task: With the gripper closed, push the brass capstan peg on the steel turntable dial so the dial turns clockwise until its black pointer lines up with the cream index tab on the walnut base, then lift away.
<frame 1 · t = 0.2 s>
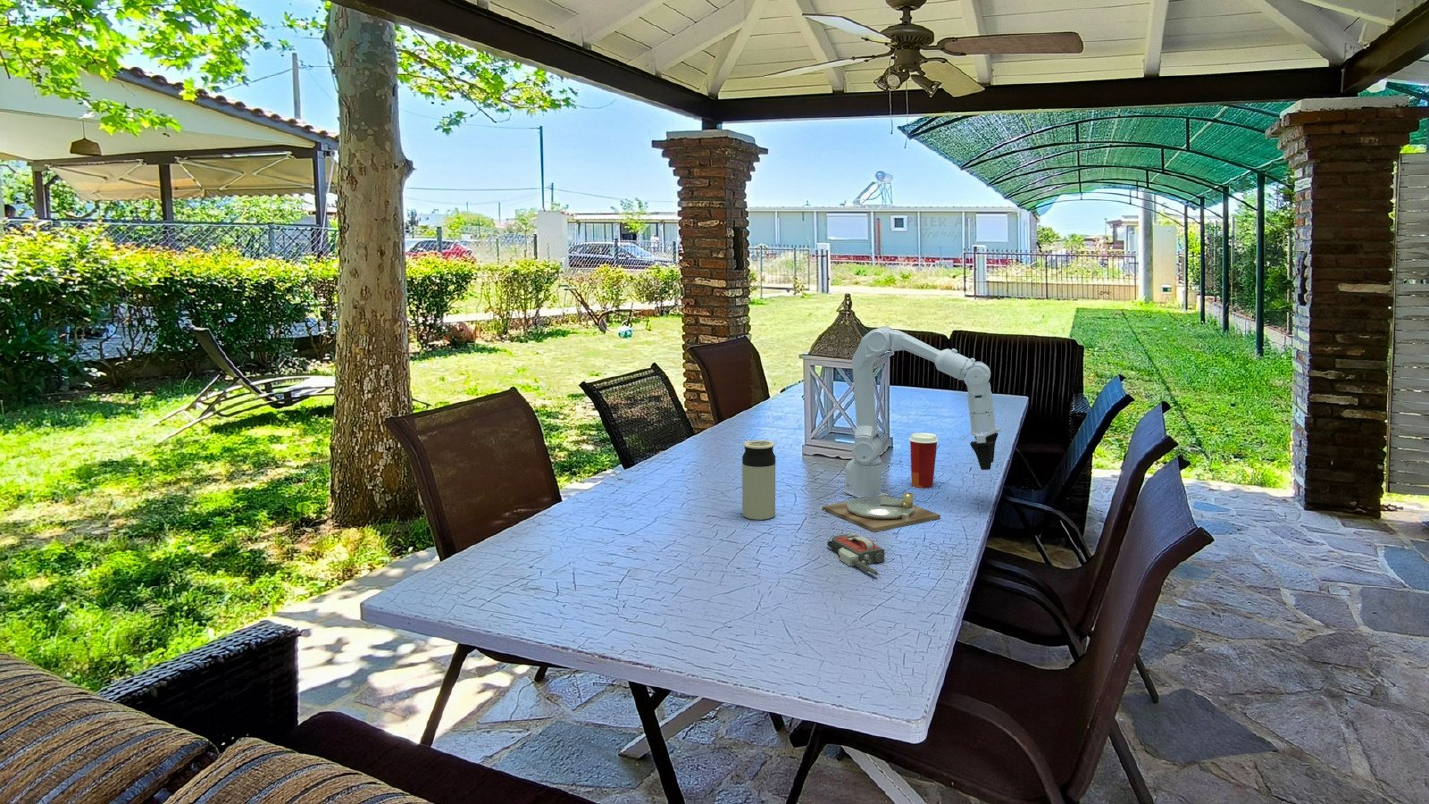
hand: (987, 466, 215), 11 cm above the table, tool pointing down, fingers open, 7 cm apart
paper cup: (921, 486, 238), on the table
travel mug: (758, 516, 211), on the table
dial base: (880, 514, 212), on the table
capstan dial: (880, 500, 211), point 3 cm above the table, hinge at 45.0°
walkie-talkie: (861, 562, 181), on the table
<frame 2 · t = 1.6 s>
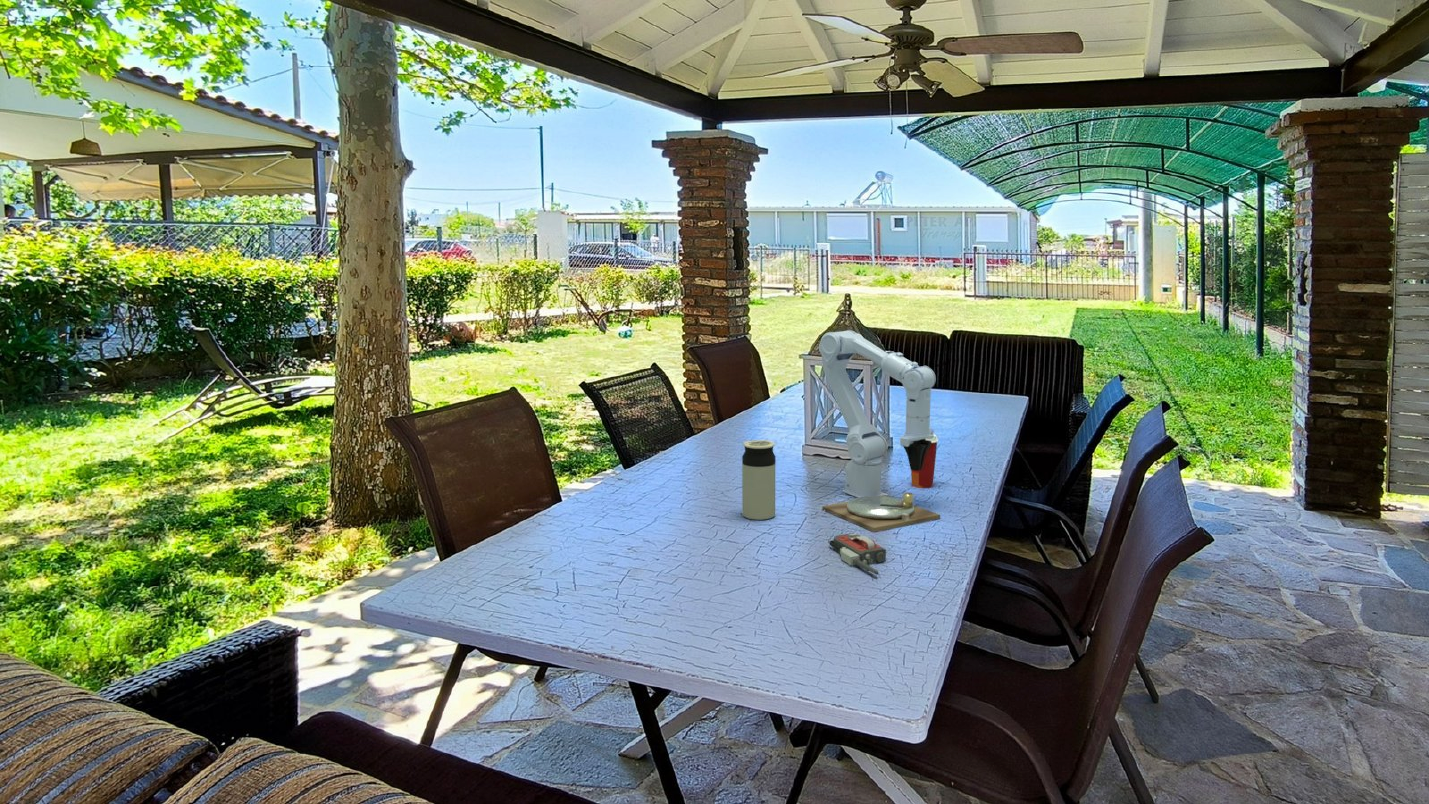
hand: (916, 469, 217), 9 cm above the table, tool pointing down, fingers closed
nothing on the table moved.
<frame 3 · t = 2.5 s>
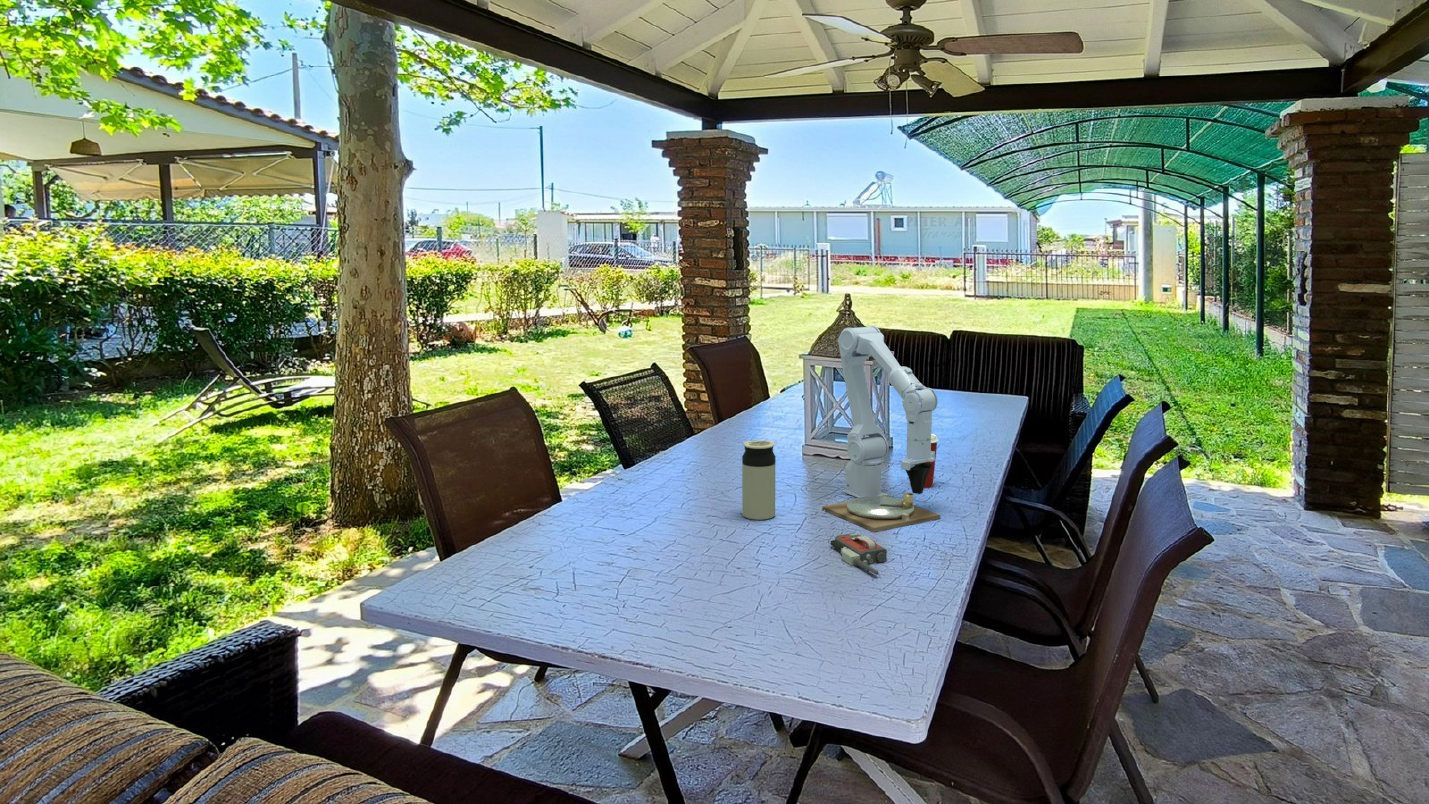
hand: (917, 493, 213), 5 cm above the table, tool pointing down, fingers closed
nothing on the table moved.
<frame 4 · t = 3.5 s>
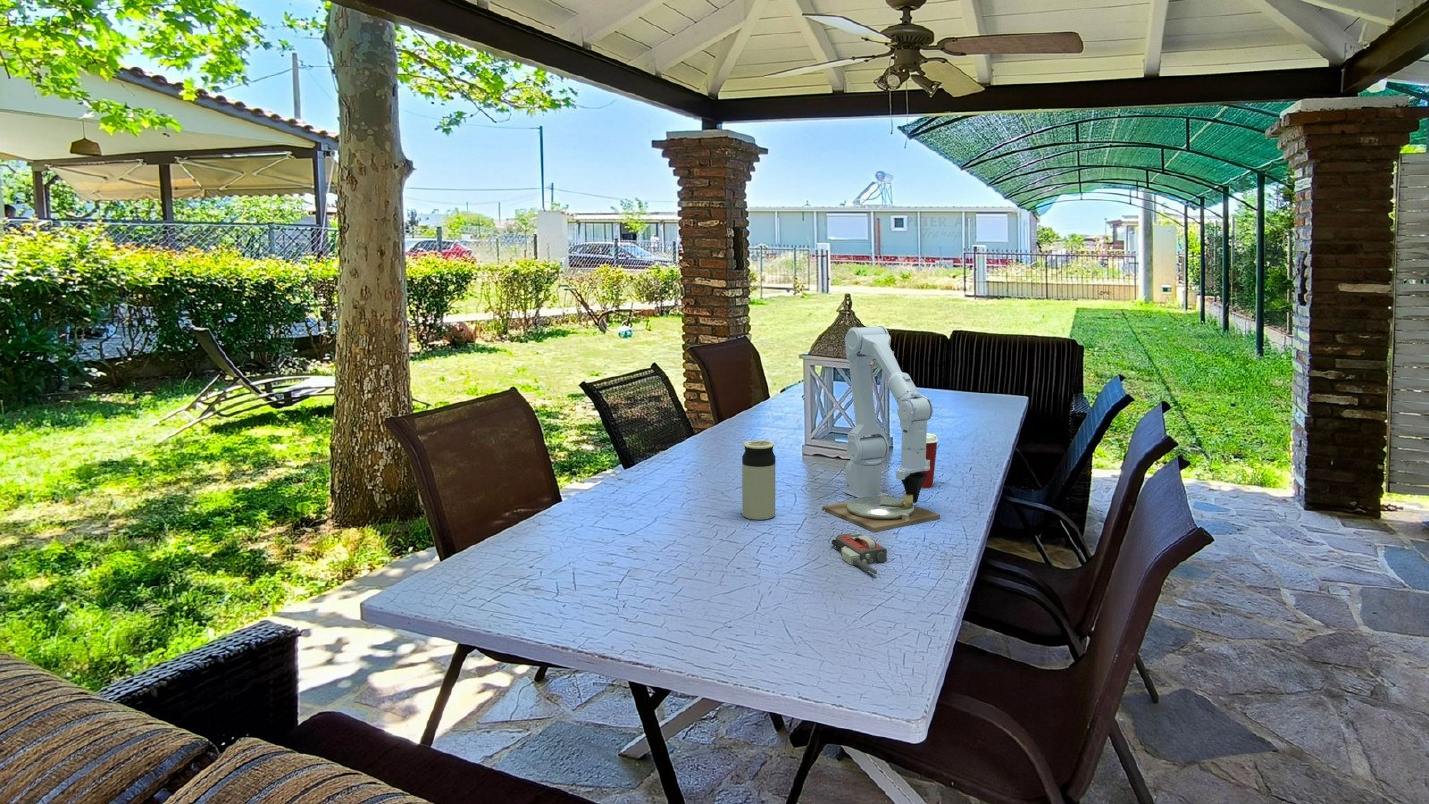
hand: (912, 502, 211), 3 cm above the table, tool pointing down, fingers closed, pressing on capstan dial
capstan dial: (880, 500, 211), point 3 cm above the table, hinge at 44.9°, touching gripper
everything else where it was.
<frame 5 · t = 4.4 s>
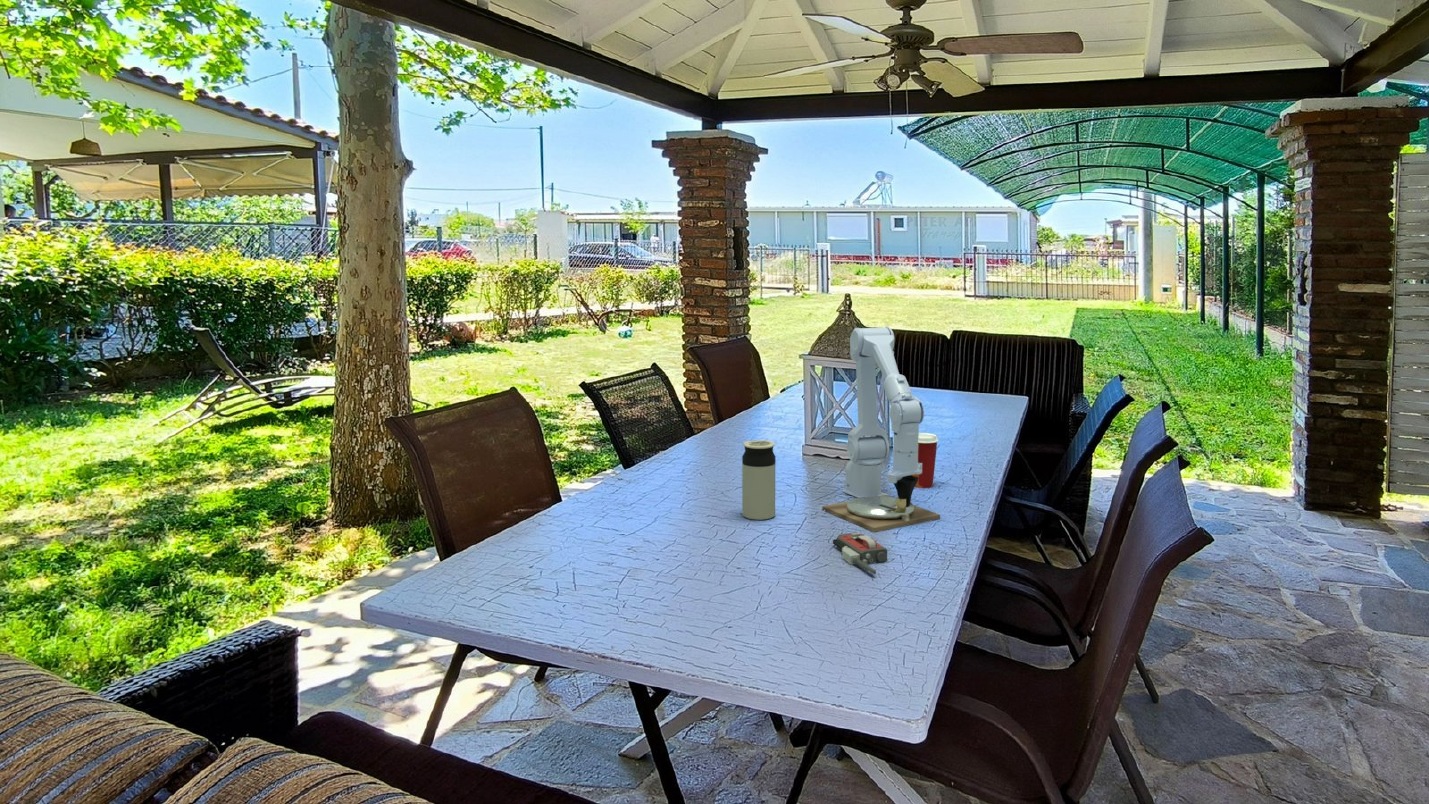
hand: (904, 506, 207), 3 cm above the table, tool pointing down, fingers closed
capstan dial: (880, 500, 211), point 3 cm above the table, hinge at 7.2°, touching gripper
everything else where it was.
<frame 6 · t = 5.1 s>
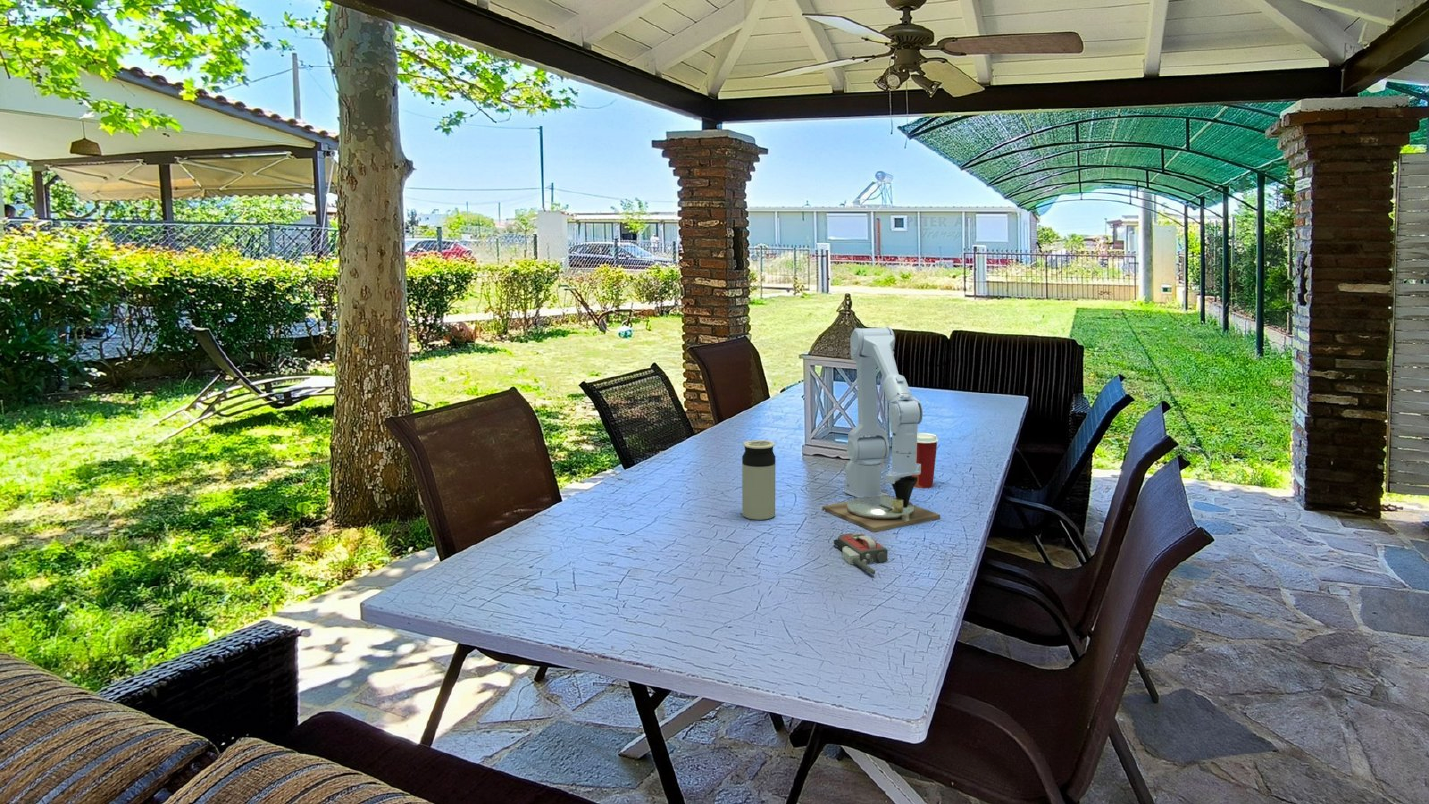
hand: (902, 506, 207), 3 cm above the table, tool pointing down, fingers closed
capstan dial: (880, 500, 211), point 3 cm above the table, hinge at -1.1°, touching gripper
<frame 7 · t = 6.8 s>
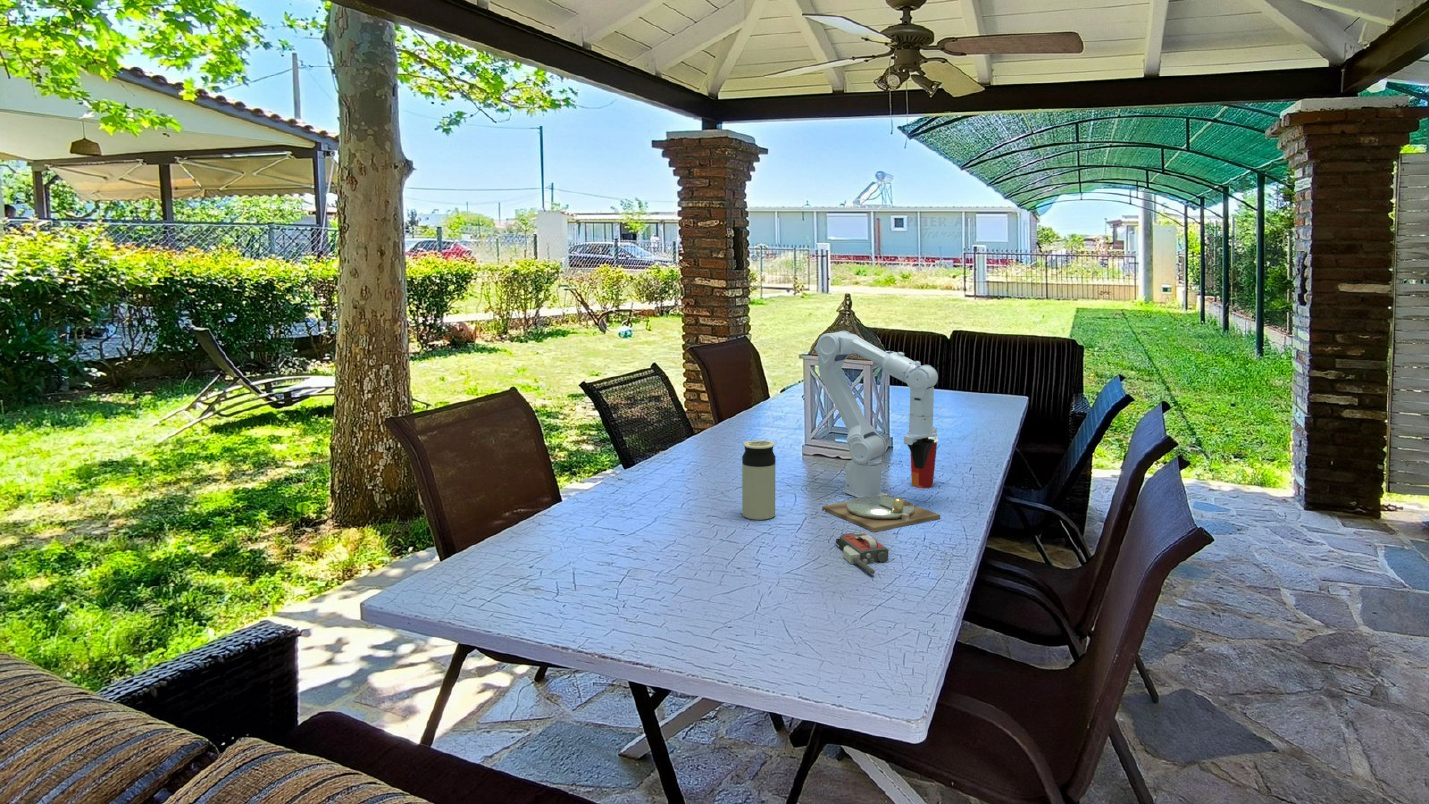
hand: (919, 467, 218), 9 cm above the table, tool pointing down, fingers closed
capstan dial: (880, 500, 211), point 3 cm above the table, hinge at -1.3°
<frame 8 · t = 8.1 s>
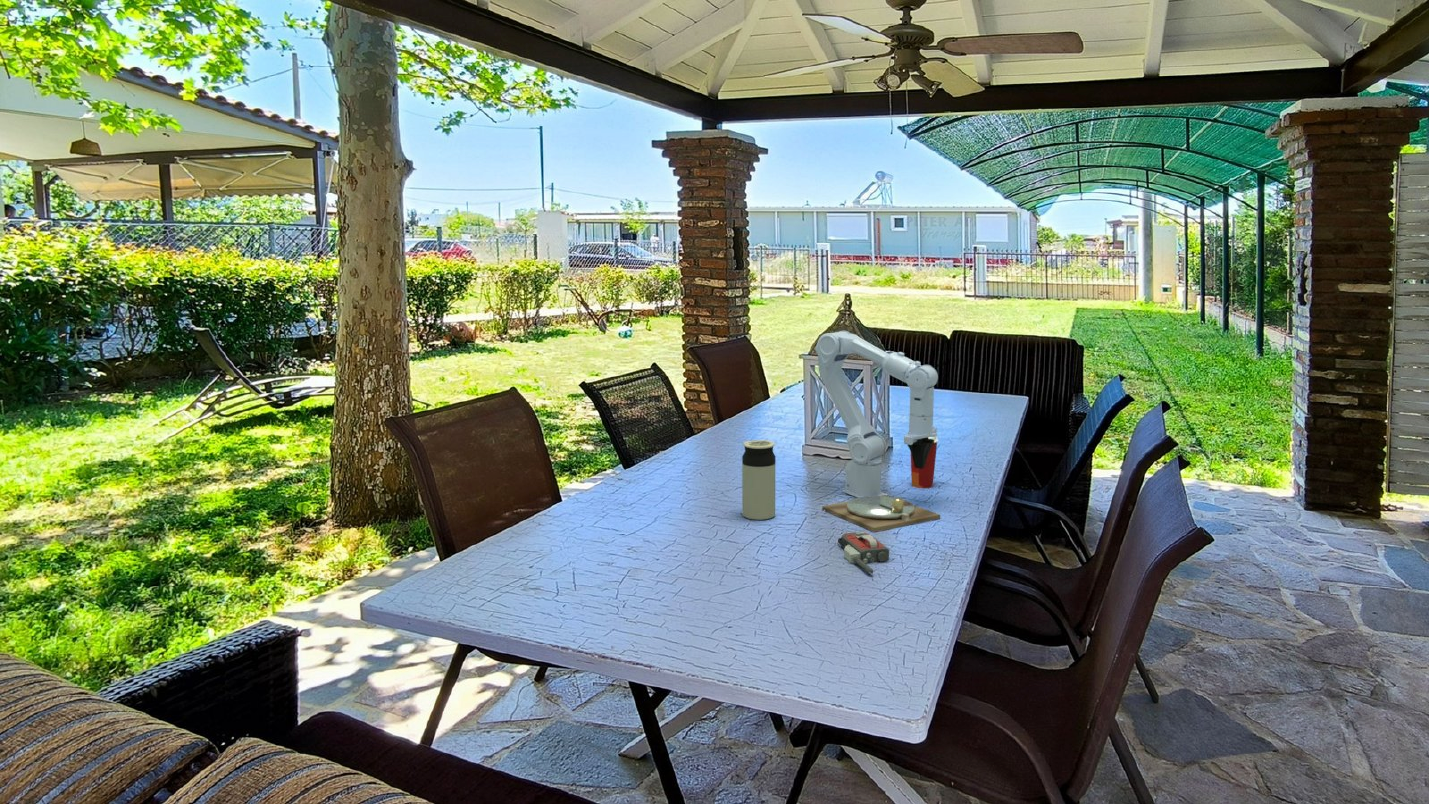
hand: (919, 467, 218), 9 cm above the table, tool pointing down, fingers closed
at the end: capstan dial at -1° (first picture: +45°) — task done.
